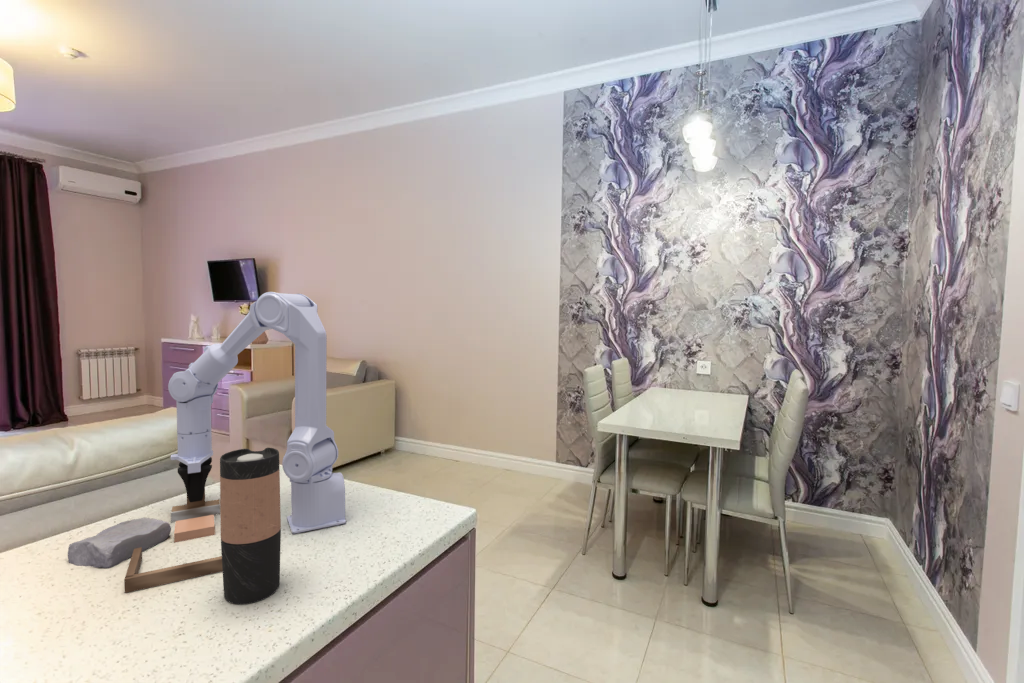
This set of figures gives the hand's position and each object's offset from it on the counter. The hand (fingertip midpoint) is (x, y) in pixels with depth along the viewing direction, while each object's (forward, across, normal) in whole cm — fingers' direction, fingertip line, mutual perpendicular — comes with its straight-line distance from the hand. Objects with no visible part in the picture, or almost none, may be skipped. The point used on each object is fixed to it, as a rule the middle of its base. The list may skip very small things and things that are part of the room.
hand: (196, 498), depth 98 cm
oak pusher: (+3, +1, 0) cm, 3 cm away
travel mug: (+3, +36, +8) cm, 37 cm away
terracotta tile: (+3, +10, 0) cm, 11 cm away
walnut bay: (+3, +23, 0) cm, 23 cm away
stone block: (+3, +12, -11) cm, 16 cm away
